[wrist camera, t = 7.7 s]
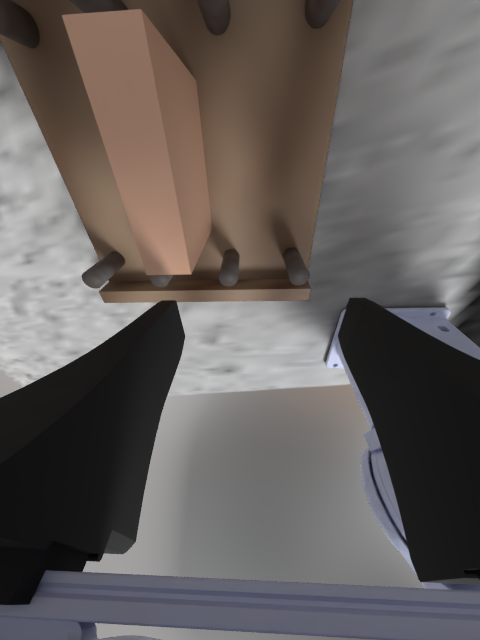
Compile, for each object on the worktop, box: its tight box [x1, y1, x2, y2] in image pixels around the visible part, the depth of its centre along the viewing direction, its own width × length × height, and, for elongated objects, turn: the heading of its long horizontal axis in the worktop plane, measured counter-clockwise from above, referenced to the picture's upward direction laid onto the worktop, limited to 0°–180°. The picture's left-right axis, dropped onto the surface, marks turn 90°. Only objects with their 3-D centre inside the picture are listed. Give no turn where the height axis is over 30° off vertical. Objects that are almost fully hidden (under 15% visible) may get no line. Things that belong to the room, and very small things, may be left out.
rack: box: [0, 0, 353, 303], centre depth 12 cm, size 16×17×5 cm
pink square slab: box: [62, 9, 212, 275], centre depth 10 cm, size 2×7×7 cm, turn 2°
